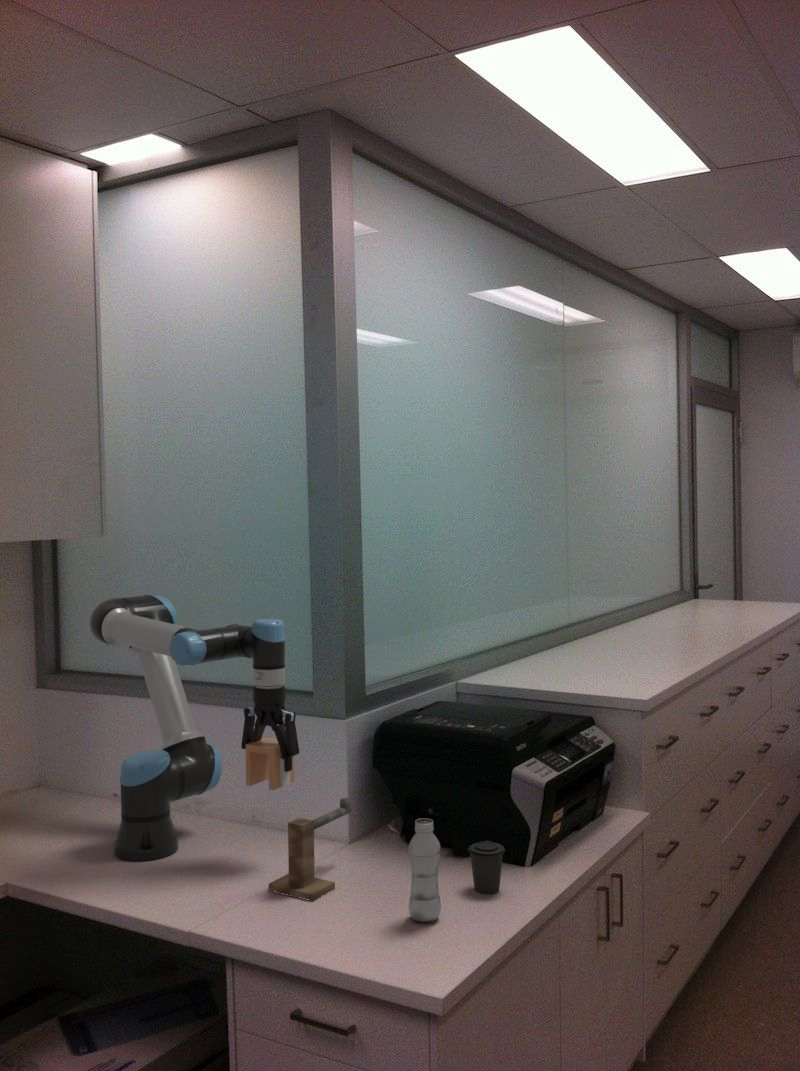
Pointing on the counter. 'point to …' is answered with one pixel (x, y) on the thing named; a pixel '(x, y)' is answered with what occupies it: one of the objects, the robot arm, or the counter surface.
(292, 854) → the hook stand
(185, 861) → the counter surface
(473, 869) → the coffee cup
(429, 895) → the plastic bottle
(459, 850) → the battery
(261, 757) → the tan square cardboard-colored block
